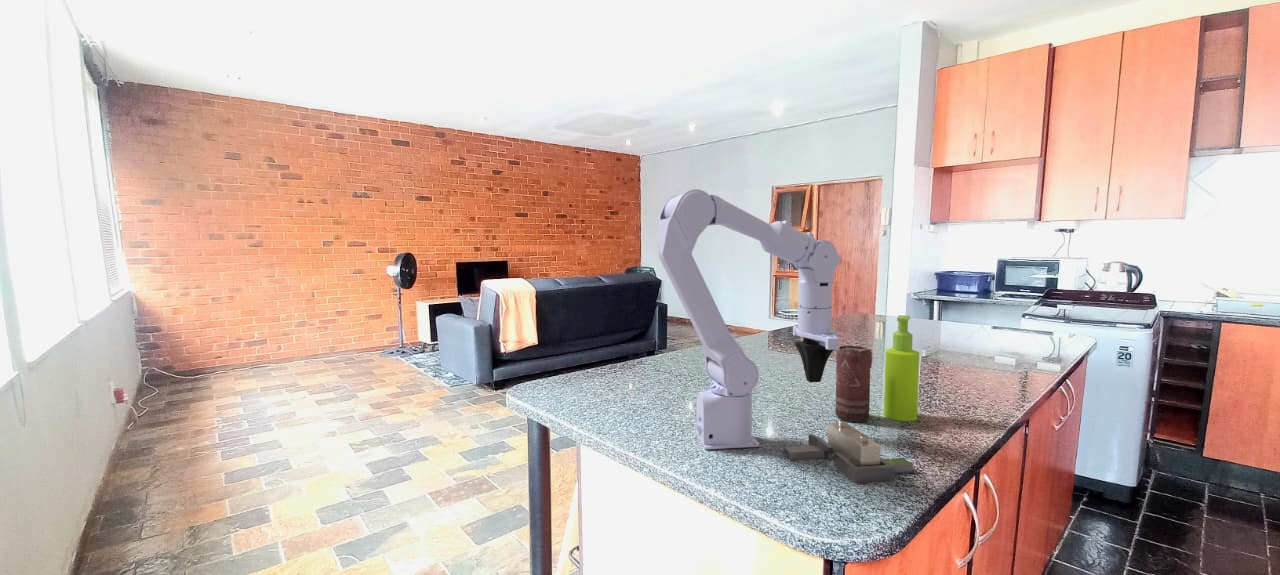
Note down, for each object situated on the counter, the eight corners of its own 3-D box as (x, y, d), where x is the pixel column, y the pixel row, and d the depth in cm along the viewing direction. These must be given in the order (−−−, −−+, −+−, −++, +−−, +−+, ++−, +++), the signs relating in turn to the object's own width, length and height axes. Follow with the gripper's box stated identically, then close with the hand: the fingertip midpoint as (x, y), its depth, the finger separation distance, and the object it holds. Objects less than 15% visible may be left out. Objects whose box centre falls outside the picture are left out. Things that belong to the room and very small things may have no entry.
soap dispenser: (918, 413, 100) (921, 315, 99) (916, 423, 94) (919, 319, 93) (886, 408, 103) (888, 313, 102) (882, 418, 97) (884, 317, 96)
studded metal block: (860, 480, 72) (861, 441, 72) (827, 452, 82) (827, 418, 82) (879, 479, 72) (880, 440, 72) (844, 451, 82) (845, 417, 82)
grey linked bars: (813, 485, 70) (814, 471, 70) (777, 447, 84) (777, 435, 84) (922, 478, 72) (922, 465, 72) (869, 442, 86) (869, 430, 85)
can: (874, 424, 94) (875, 351, 93) (838, 422, 95) (840, 350, 94) (866, 413, 100) (867, 345, 99) (833, 412, 101) (834, 344, 100)
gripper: (857, 311, 82) (855, 391, 83) (817, 302, 97) (816, 370, 98) (816, 312, 82) (815, 393, 83) (782, 303, 96) (782, 371, 97)
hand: (813, 381), depth 90 cm, fingers closed
